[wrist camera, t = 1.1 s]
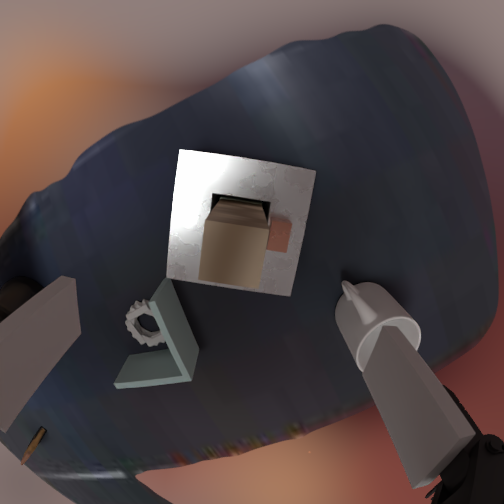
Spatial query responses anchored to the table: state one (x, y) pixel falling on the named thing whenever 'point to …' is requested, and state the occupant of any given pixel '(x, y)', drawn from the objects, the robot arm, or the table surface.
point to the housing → (247, 186)
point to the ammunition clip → (33, 444)
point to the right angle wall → (171, 330)
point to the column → (234, 242)
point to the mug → (370, 319)
